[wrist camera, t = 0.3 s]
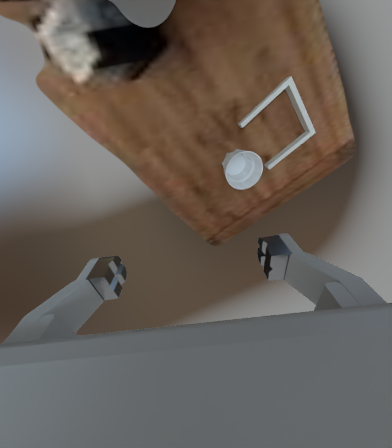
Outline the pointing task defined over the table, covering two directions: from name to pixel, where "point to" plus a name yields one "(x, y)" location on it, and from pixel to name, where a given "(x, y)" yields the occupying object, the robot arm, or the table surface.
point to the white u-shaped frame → (300, 111)
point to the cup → (242, 168)
